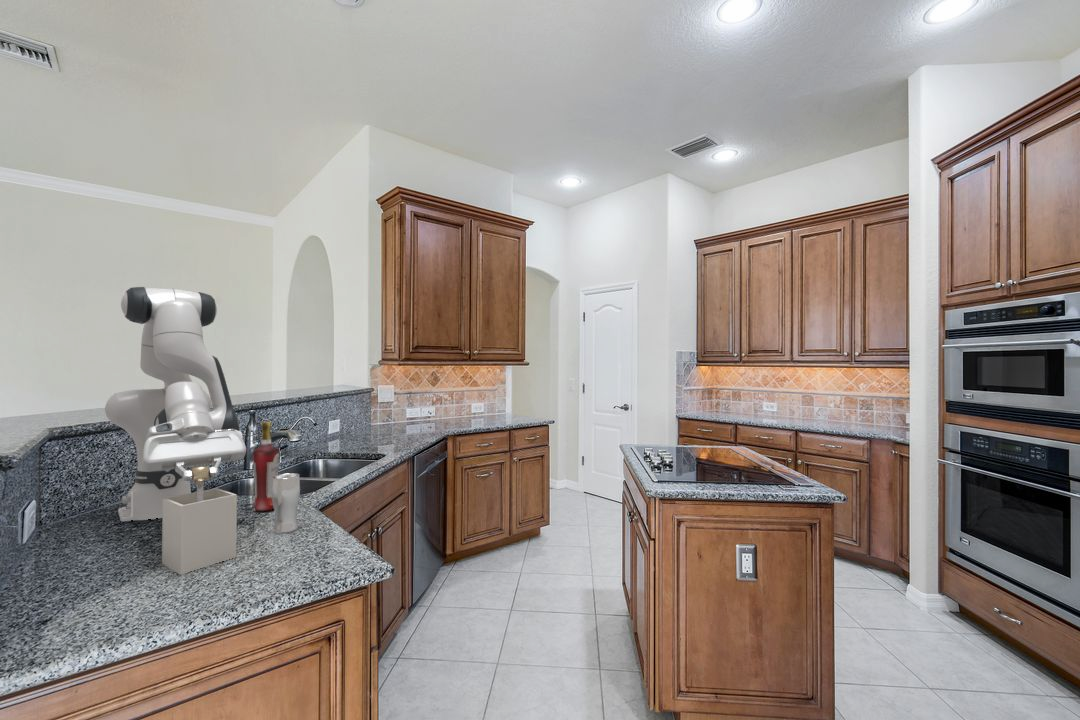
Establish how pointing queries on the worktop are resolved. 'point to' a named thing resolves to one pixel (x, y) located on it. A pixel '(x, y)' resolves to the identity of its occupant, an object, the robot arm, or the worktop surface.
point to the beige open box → (199, 530)
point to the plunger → (200, 478)
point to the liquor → (265, 470)
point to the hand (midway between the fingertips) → (201, 477)
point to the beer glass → (285, 501)
